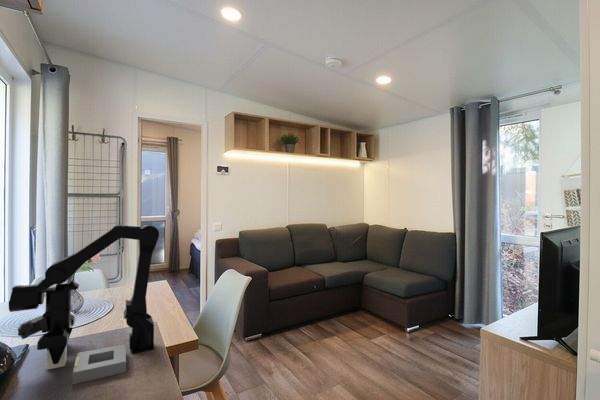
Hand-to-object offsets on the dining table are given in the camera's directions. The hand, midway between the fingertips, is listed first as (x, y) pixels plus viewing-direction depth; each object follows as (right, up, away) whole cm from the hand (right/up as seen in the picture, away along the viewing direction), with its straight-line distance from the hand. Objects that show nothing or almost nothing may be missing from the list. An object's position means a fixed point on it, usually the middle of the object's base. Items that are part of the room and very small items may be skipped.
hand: (57, 360), depth 89 cm
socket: (+14, -1, -1) cm, 14 cm away
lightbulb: (-7, -2, +12) cm, 14 cm away
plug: (0, -1, 0) cm, 1 cm away
